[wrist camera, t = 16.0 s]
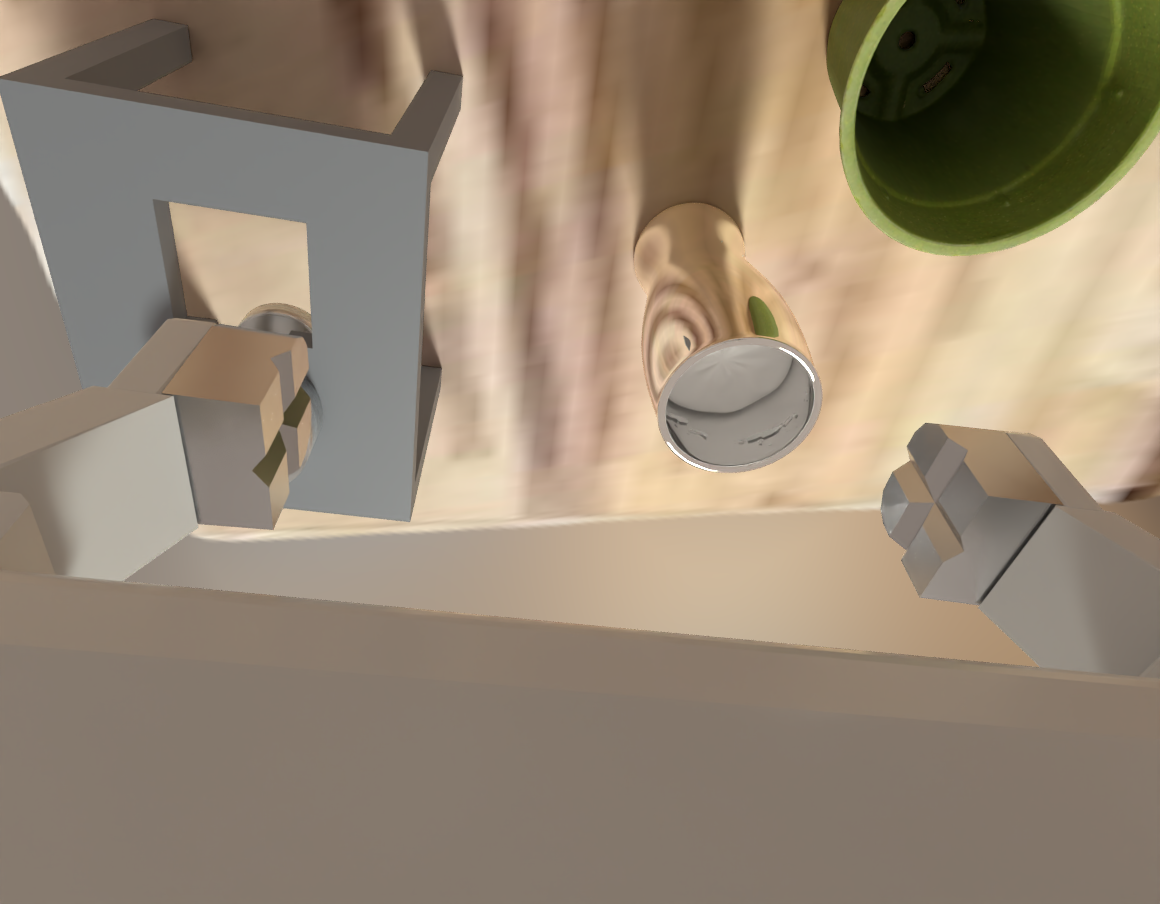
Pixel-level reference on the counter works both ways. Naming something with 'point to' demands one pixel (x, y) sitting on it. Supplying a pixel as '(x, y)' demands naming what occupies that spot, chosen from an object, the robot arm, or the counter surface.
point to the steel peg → (283, 322)
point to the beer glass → (720, 346)
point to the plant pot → (991, 113)
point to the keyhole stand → (253, 186)
